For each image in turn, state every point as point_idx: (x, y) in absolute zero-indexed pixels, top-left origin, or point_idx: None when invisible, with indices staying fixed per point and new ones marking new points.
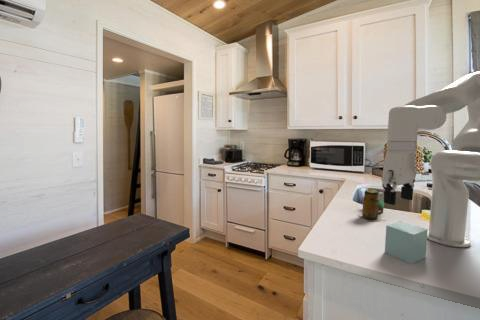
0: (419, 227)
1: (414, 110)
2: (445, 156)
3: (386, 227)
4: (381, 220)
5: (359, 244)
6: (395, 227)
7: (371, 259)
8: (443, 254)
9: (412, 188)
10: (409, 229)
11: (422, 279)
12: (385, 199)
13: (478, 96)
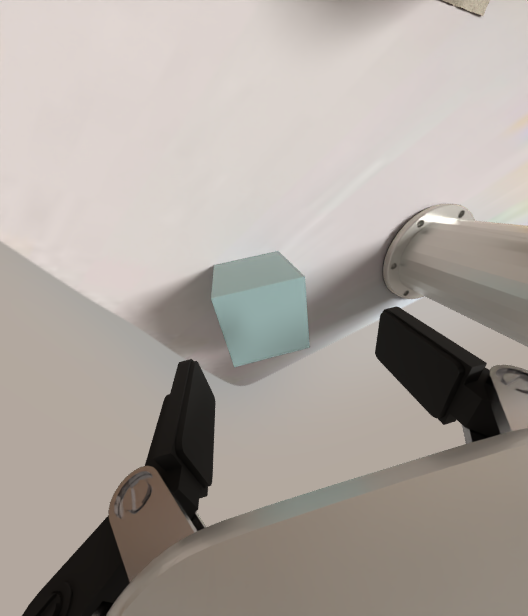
0: (303, 333)
1: None
2: None
3: (211, 296)
4: (469, 3)
5: (170, 198)
6: (228, 319)
7: (148, 285)
8: (332, 305)
9: (442, 421)
10: (258, 339)
11: (201, 357)
12: (165, 401)
13: None
